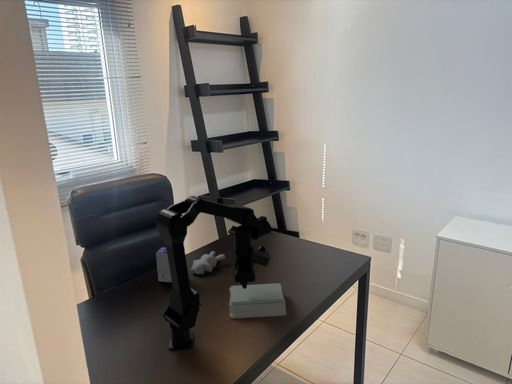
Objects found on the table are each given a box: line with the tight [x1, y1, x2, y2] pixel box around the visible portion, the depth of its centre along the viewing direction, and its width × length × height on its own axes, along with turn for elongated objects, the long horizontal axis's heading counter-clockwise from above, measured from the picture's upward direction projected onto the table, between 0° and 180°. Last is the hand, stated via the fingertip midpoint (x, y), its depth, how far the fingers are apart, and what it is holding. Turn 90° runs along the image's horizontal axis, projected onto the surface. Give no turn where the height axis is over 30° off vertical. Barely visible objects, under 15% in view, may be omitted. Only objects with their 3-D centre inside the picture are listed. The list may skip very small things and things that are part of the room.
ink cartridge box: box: [155, 247, 172, 283], centre depth 142 cm, size 10×6×14 cm, turn 78°
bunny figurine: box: [190, 250, 226, 275], centre depth 152 cm, size 10×5×15 cm
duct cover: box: [230, 282, 285, 305], centre depth 124 cm, size 10×17×1 cm, turn 94°
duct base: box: [229, 286, 287, 319], centre depth 126 cm, size 16×18×4 cm
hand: (244, 288), depth 123 cm, fingers closed
